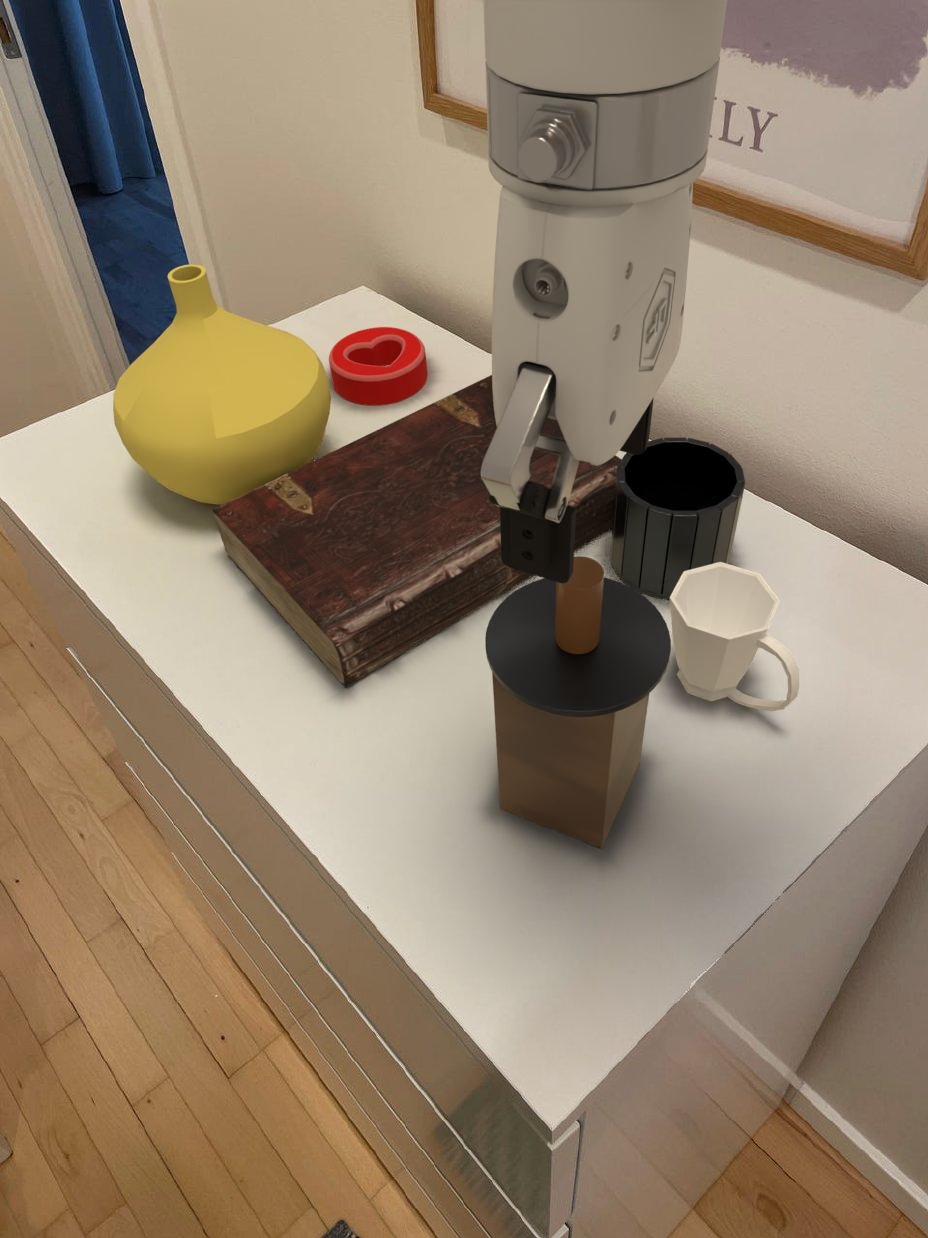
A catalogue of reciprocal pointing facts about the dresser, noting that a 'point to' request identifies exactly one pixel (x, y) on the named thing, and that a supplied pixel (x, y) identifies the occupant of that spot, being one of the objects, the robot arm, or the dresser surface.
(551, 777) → the stand
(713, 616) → the cup
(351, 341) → the decorative ornament
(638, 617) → the lid
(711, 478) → the dark grey slatted bucket
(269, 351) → the vase
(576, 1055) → the dresser surface
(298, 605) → the book
